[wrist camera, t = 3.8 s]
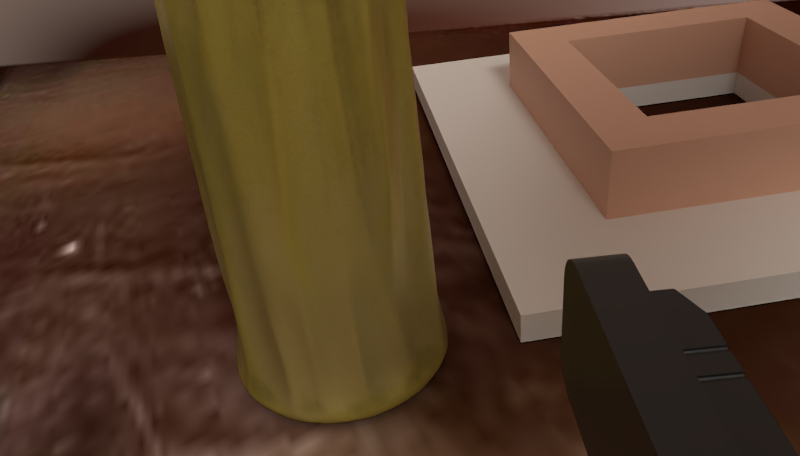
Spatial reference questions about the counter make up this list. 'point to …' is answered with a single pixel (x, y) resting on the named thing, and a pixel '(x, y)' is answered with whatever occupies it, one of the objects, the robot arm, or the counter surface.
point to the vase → (313, 196)
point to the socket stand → (630, 155)
